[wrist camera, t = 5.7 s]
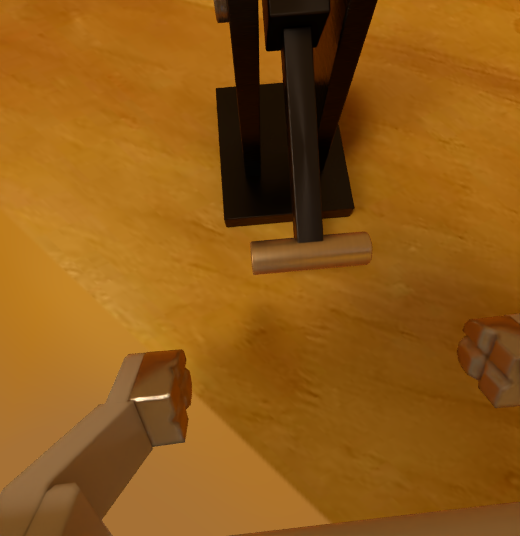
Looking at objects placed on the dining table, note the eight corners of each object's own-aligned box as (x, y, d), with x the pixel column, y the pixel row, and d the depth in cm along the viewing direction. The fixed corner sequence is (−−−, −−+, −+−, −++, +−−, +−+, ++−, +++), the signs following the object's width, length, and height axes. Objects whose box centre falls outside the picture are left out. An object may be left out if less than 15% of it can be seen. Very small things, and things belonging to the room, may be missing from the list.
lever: (357, 260, 15) (377, 268, 12) (253, 270, 15) (253, 280, 12) (346, -29, 13) (368, -85, 11) (226, -19, 13) (220, -74, 10)
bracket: (349, 216, 20) (459, 38, 9) (226, 227, 20) (178, 61, 9) (326, 92, 23) (388, -167, 12) (218, 101, 23) (173, -151, 12)
